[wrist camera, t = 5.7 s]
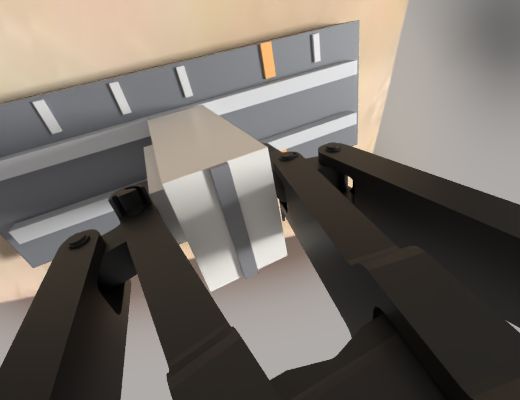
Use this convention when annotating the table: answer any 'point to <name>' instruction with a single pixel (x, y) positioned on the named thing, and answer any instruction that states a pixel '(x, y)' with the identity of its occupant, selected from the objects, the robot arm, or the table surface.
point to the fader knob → (219, 193)
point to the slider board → (156, 105)
